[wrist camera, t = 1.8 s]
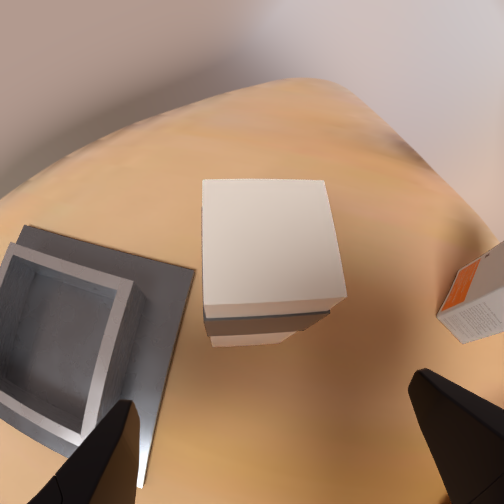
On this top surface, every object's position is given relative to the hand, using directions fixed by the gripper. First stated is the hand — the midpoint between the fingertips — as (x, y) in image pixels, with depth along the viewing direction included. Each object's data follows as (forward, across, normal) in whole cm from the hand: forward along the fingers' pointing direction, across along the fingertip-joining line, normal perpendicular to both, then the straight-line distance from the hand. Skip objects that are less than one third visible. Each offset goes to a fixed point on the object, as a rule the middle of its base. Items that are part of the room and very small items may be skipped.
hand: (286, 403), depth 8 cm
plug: (+12, 0, +5) cm, 13 cm away
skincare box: (+11, -19, +6) cm, 23 cm away
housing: (+10, +13, +6) cm, 18 cm away
